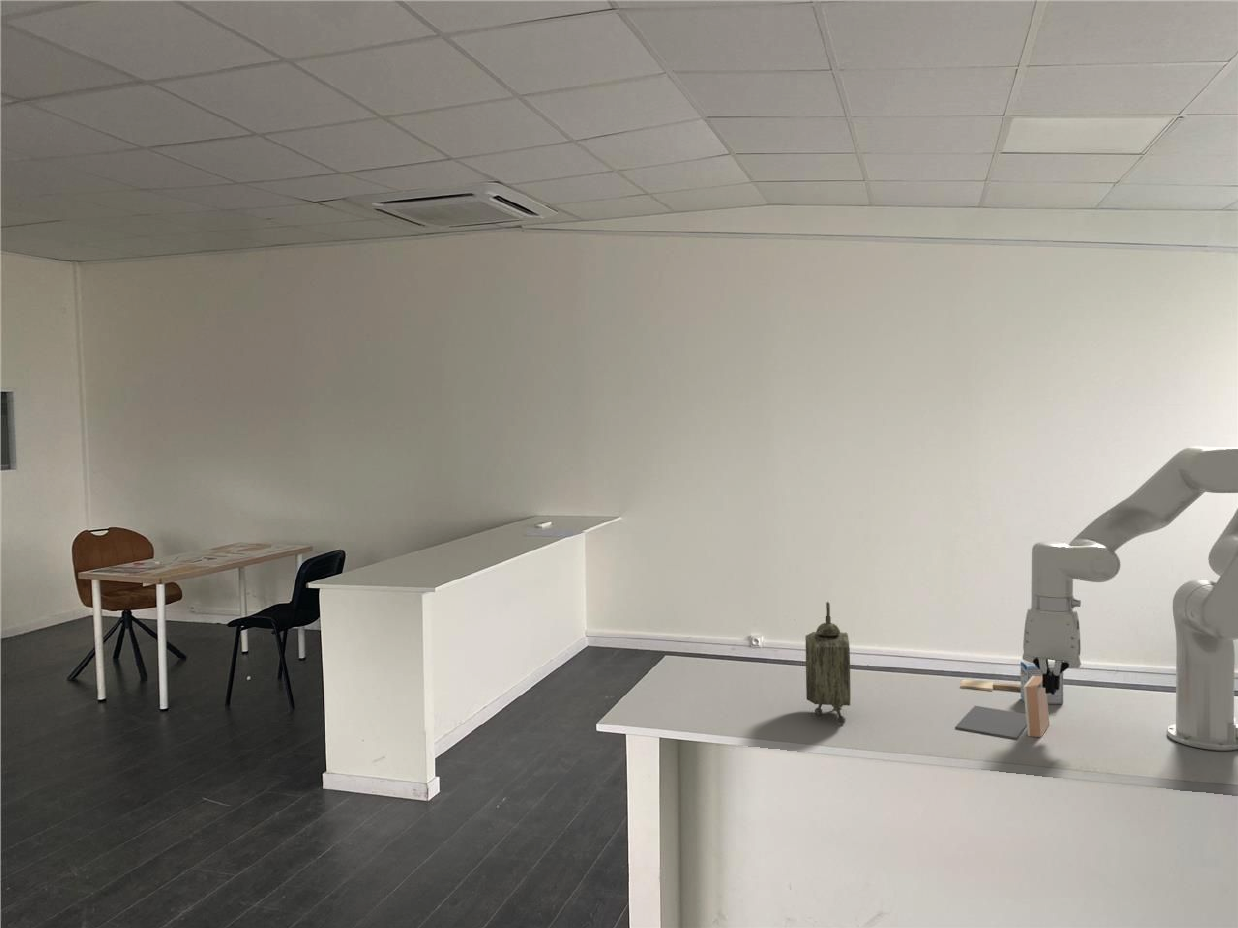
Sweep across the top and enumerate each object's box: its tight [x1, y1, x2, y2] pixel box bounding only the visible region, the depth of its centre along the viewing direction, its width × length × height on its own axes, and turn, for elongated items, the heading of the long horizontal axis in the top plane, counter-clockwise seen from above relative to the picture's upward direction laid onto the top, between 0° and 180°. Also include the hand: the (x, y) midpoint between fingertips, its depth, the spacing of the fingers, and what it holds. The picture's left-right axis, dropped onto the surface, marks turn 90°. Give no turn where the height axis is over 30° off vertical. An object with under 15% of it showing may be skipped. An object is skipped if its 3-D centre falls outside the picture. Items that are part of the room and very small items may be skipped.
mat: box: [954, 705, 1027, 740], centre depth 186 cm, size 12×16×1 cm
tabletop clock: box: [804, 601, 851, 725], centre depth 192 cm, size 14×9×25 cm, turn 168°
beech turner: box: [960, 679, 1021, 692], centre depth 209 cm, size 17×6×1 cm, turn 64°
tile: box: [1024, 676, 1050, 738], centre depth 181 cm, size 2×9×10 cm, turn 144°
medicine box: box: [1020, 661, 1064, 705], centre depth 198 cm, size 8×4×9 cm, turn 84°
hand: (1050, 692), depth 179 cm, fingers closed
